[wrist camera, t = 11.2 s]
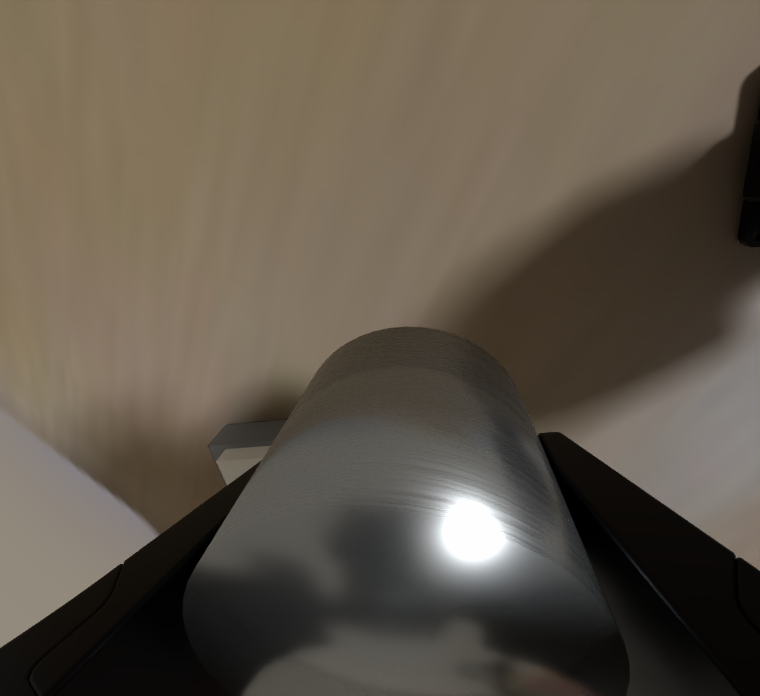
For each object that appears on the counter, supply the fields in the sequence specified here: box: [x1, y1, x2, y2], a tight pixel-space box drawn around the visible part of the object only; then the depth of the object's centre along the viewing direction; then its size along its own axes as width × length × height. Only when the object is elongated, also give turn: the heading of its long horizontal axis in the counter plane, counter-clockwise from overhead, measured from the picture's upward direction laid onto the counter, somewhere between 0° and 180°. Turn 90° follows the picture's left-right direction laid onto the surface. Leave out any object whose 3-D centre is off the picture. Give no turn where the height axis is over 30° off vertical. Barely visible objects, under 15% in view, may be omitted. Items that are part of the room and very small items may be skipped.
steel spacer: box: [182, 327, 630, 696], centre depth 7 cm, size 6×6×5 cm
